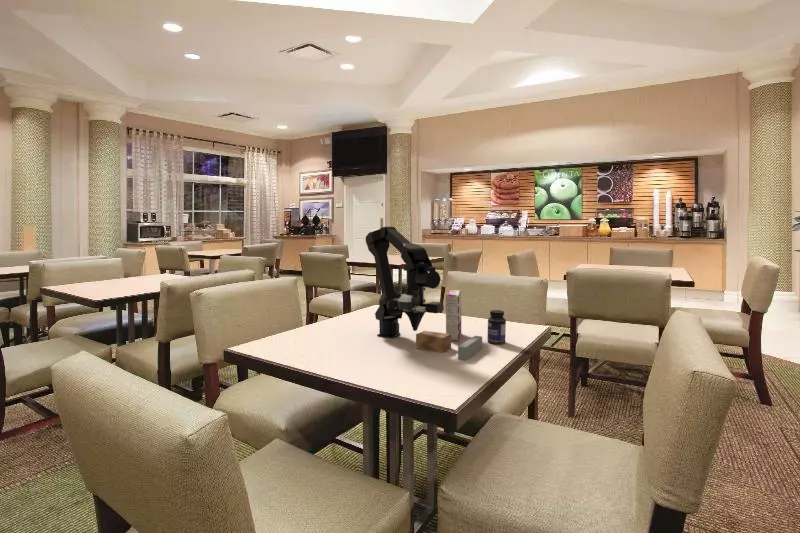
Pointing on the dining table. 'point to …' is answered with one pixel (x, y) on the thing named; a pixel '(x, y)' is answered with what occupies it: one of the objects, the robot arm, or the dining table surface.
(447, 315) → the candy bar box
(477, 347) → the fence board
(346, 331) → the dining table surface
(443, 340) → the walnut brick
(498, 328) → the pill bottle
